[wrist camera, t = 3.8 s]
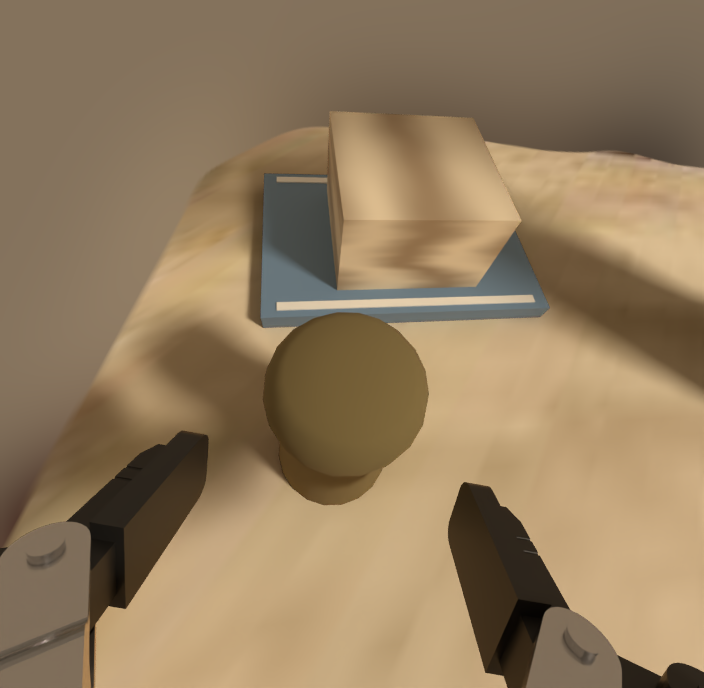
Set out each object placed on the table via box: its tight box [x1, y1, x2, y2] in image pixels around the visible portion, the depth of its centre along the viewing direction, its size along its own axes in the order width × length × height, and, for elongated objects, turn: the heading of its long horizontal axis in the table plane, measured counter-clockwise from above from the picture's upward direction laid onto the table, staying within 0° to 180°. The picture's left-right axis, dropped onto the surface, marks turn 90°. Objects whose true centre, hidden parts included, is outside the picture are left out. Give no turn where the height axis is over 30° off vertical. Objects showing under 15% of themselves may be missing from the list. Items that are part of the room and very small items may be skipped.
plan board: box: [261, 174, 550, 328], centre depth 26 cm, size 20×14×1 cm
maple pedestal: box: [327, 111, 522, 290], centre depth 23 cm, size 10×10×6 cm
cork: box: [263, 312, 429, 505], centre depth 14 cm, size 6×6×11 cm
